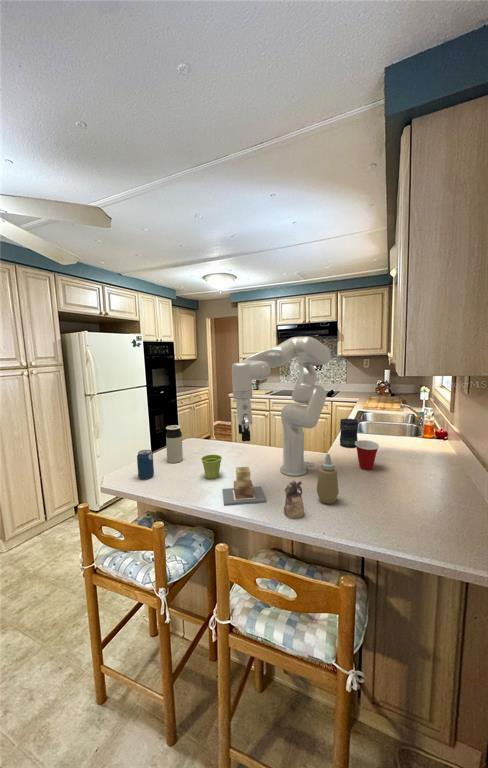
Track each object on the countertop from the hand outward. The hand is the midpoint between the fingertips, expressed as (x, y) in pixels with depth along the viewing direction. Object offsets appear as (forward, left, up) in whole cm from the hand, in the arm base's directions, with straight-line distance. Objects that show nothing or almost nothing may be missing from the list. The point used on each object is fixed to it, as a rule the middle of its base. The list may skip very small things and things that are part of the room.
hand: (244, 437), depth 122 cm
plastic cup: (-60, -16, -23) cm, 66 cm away
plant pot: (+13, -18, -23) cm, 32 cm away
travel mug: (+32, -41, -23) cm, 57 cm away
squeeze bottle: (-30, +11, -23) cm, 39 cm away
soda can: (+43, -22, -23) cm, 53 cm away
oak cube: (+1, +3, -18) cm, 18 cm away
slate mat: (+1, +3, -23) cm, 23 cm away
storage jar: (-67, -49, -23) cm, 86 cm away
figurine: (-15, +18, -23) cm, 33 cm away
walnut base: (+1, +3, -22) cm, 22 cm away
